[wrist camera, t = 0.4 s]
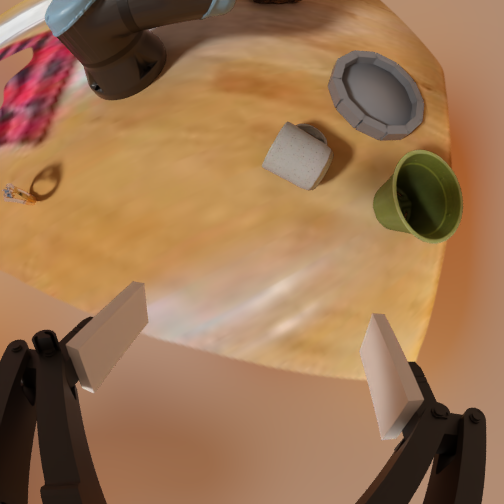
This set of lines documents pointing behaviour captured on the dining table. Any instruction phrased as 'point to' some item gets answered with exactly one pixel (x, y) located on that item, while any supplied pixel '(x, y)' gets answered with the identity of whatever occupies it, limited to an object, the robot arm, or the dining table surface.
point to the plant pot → (421, 198)
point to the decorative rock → (277, 1)
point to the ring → (21, 192)
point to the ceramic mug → (299, 155)
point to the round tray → (376, 95)
